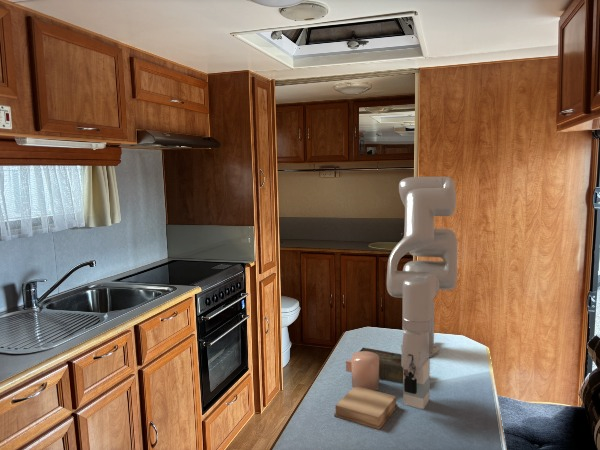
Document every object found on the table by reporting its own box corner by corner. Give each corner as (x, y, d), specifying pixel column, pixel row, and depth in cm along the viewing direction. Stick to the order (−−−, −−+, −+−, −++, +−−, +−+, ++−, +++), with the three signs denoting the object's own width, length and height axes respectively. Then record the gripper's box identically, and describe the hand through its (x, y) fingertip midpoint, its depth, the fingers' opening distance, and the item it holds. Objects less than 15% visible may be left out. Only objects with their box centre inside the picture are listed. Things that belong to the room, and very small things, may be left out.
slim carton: (409, 395, 133) (410, 352, 131) (429, 400, 130) (430, 355, 128) (403, 404, 128) (403, 359, 127) (423, 409, 126) (423, 363, 124)
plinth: (354, 395, 134) (354, 385, 134) (397, 406, 127) (397, 395, 127) (334, 416, 123) (334, 405, 123) (379, 429, 117) (379, 418, 116)
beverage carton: (415, 386, 138) (415, 365, 137) (353, 375, 147) (352, 355, 146) (421, 375, 145) (421, 355, 144) (362, 364, 154) (361, 345, 153)
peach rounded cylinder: (352, 375, 146) (352, 348, 145) (383, 383, 141) (383, 354, 139) (340, 386, 139) (340, 357, 138) (372, 394, 134) (372, 364, 133)
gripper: (413, 313, 135) (413, 370, 137) (391, 331, 121) (391, 395, 123) (439, 317, 131) (439, 375, 134) (420, 336, 117) (420, 402, 119)
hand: (416, 385), depth 128 cm, fingers open, 9 cm apart
